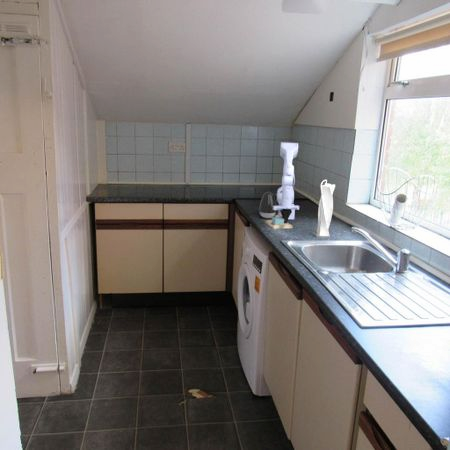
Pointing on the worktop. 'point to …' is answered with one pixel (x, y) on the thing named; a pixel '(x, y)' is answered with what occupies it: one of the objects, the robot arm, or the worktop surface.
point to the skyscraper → (325, 210)
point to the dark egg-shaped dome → (267, 205)
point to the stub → (277, 221)
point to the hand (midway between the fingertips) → (284, 222)
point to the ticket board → (286, 225)
